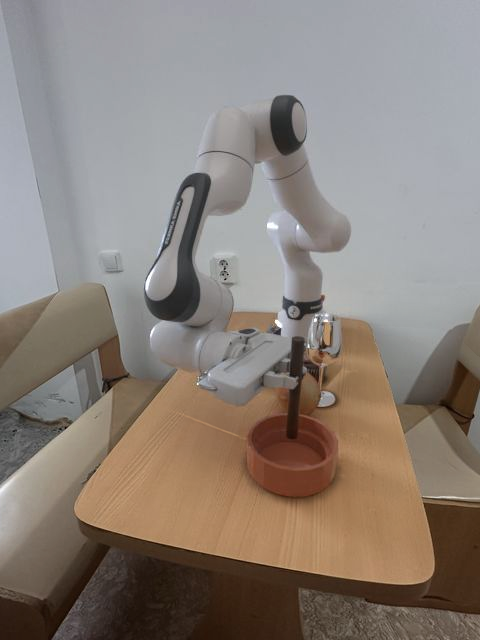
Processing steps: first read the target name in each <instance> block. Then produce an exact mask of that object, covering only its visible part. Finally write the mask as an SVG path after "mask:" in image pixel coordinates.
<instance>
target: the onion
mask: <svg viewBox="0 0 480 640" xmlns="http://www.w3.org/2000/svg"><path fill="white" fill-rule="evenodd" d="M288 373H289V372H287V373H284V375H287V374H288ZM289 374H290V373H289ZM288 391H289V388H285V387H280V388H274V394H275V400H276V403H277V405H278V407H279V408H280V409H281V410H282V411H283V412H284V413H287V408H288ZM321 391H322V389H321V390H320V387H319V385H318V383H317V381H316V379H315V378H314V377H313V376H312V375H311V374H310V373H308V372H307V376H306V377H305V378H304V379H303V380H302V385H301V399H300V412H299V414H302V415H306V416H308V415H309V414H310V413H312V412H314V411H315V410H316V409H317V408H318V407H317V406H318V404H319V402H320V399H321Z"/></svg>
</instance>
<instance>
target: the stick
mask: <svg viewBox="0 0 480 640" xmlns="http://www.w3.org/2000/svg"><path fill="white" fill-rule="evenodd" d="M304 346H305V338H303V337H300V336H295V337H292V340H291V357H290V374H292V375H296V376H298V378H299V380H298V385H297V386H296V387H295V388H294V389H289V391H288V408H287V425H286V437H287V438H288V439H296V438H297V437H298V425H299V412H300V399H301V385H302V372H303V359H304Z"/></svg>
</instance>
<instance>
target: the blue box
mask: <svg viewBox="0 0 480 640" xmlns="http://www.w3.org/2000/svg"><path fill="white" fill-rule="evenodd" d="M266 327H268V328H267V330H266V331H264V333H271V334H275V335H279V336H281V327H278V326H277V325H273V324H271V323H269V324H267V326H266Z"/></svg>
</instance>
